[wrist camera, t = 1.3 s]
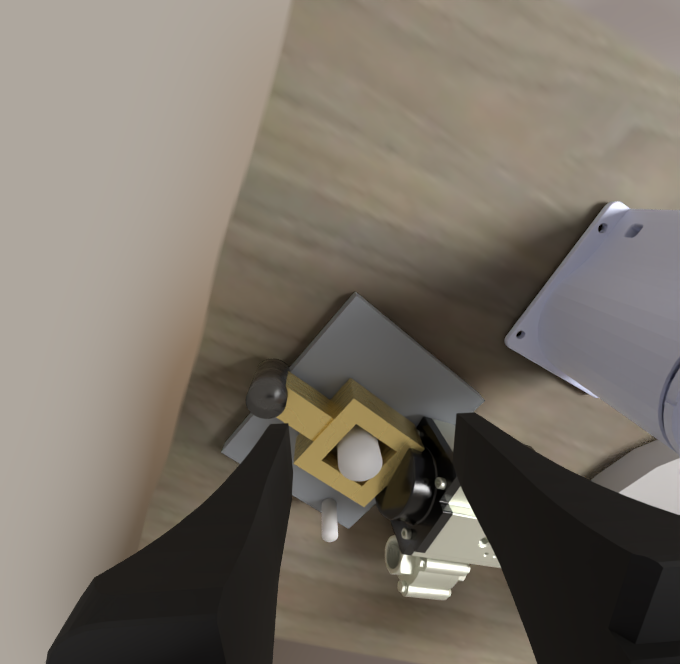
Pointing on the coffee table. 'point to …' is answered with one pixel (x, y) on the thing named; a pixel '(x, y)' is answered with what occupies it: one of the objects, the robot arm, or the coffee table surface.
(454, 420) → the plate
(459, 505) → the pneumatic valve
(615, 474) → the gramophone
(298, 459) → the square nut with handle
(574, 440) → the coffee table surface
